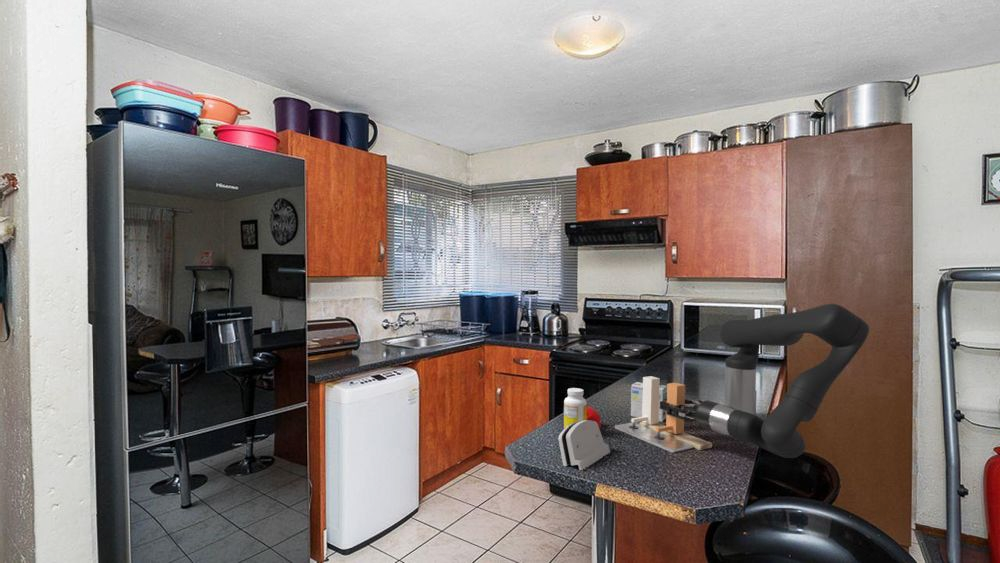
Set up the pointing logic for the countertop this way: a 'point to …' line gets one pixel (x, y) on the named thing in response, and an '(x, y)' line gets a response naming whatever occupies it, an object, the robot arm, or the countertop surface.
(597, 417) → the cap
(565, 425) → the supplement bottle
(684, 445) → the bolt plate
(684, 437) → the rail
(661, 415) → the light bulb box
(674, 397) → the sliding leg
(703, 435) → the countertop surface
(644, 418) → the fixed leg
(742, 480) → the countertop surface
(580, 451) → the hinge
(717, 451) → the countertop surface
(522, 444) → the countertop surface
